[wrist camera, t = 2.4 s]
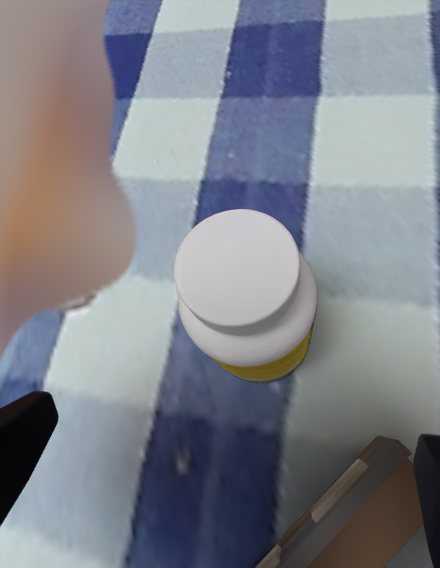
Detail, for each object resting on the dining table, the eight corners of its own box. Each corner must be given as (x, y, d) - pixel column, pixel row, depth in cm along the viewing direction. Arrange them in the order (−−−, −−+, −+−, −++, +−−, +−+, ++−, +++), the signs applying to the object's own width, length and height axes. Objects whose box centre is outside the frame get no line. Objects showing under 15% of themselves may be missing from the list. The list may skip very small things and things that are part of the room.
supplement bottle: (327, 364, 19) (356, 315, 10) (230, 397, 19) (171, 379, 10) (289, 275, 21) (284, 166, 12) (202, 307, 21) (134, 224, 12)
